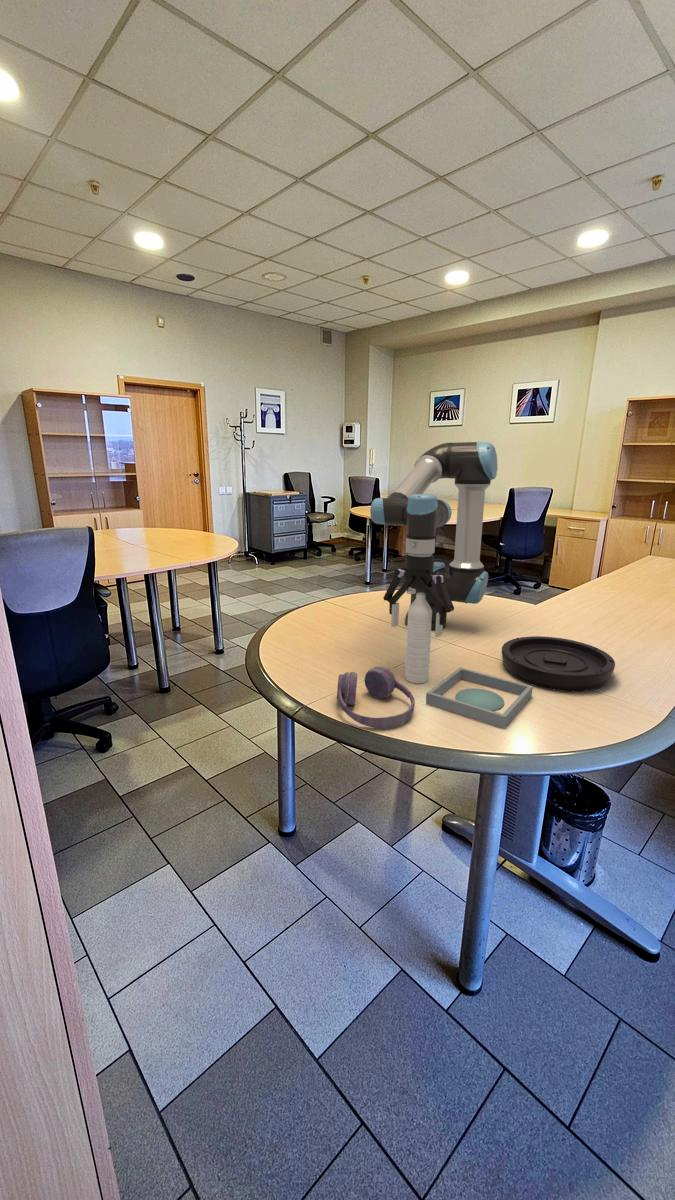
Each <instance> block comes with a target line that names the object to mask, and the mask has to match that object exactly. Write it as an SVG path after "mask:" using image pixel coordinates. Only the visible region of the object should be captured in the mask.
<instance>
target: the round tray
mask: <svg viewBox="0 0 675 1200" xmlns="http://www.w3.org/2000/svg"><path fill="white" fill-rule="evenodd" d="M501 656H502V663H503V664H504V667H505V669H506V670H507V672H509V673H510V674H511V675H512V676H513V677H515V678H517V679H518V680H520V681H522V682H524V683H527V684H528V685H532V684H533V685H532V686H535V685H536V687H539V688H544V689H547V688H548V690H552V689H555V690H554V691H559V690H564V691H563V692H572V691H578V692H585V691H584V690H589V691H592V690H591V689H594V690H597V689H600V688H601V687H603V686H604V685H606V684H607V683H608V682H609V680H610V679H611V678H612V676H613V673H614V671H615V668H616V667H615V666H616V661H615V660H614V658H613V657H612V656H611V655H610V654H608V652H605V651H604V650H602V649H600V648H598V647H596V646H593V645H591V644H589V643H588V644H587V643H585V642H581V641H577V640H572V639H568V638H562V637H555V636H543V635H542V636H535V635H534V636H532V635H531V636H522V637H517V638H513V639H509V640H508V641H506V642H505V643H503V645H502V646H501ZM599 687H600V688H599ZM596 688H597V689H596Z"/></svg>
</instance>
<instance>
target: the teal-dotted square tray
mask: <svg viewBox="0 0 675 1200" xmlns="http://www.w3.org/2000/svg"><path fill="white" fill-rule="evenodd" d="M461 680H463V681H466V682H470V683H474V684H478V685H481V686H484V687H488V688H491V689H495V690H498V691H503V692H505V693H510V694H513V695H516V694H517V698H516V699H515V700H514V701H513V702H512V703H511V704H510V705H509V706H508V707H507V709H506V710H505V711H504V712H503V713H501V712H496V711H491V710H488V709H484V708H481V707H478V706H474V705H471V704H468V703H465V702H461V701H458V700H456V698H455V699H454V698H451V697H448V696H445V695H444V694H445V693H446V692H447V691H449V690H450V689H452V688H453V686H455V685H456V684H457V683H458V682H460V681H461ZM533 686H534V685H530V684H526V683H525V684H524V683H522V682H518V681H513V680H510V679H507V678H502V677H498V676H495V675H490V674H486V673H483V672H479V671H476V670H471V669H468V668H463V667H459V668H457V669H456V670H454V671H453V672H452V673H451V674H449V676H448V675H447V676H446V677H445V679H443V680H442V681H440V682H439V683H438V684H436V685H435V686H434V687H432V688H431V689H430V690H428V691H427V692H426V693H425V694H426V697H425V704H426V705H429V706H431V707H435V708H438V709H441V710H444V711H448V712H451V713H453V714H456V715H460V716H463V717H466V718H469V719H472V720H476V721H479V722H481V723H485V724H488V725H491V726H494V727H497V728H499V729H506V727H507V726H508V725H509V724H510V723H511V721H513V719H514V718H515V717H516V716H517V714H519V712H520V711H521V710H522V709H523V707H525V705H526V704H527V703H528V702H529V701H530V699H532V696H533Z"/></svg>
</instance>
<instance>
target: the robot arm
mask: <svg viewBox="0 0 675 1200" xmlns="http://www.w3.org/2000/svg"><path fill="white" fill-rule="evenodd" d="M413 465H414V466H413V468H412V469H411V471H410V472H409V473H408V474H407V475H406V476H405V477H404V478H403V479H402V480H401V482H400V483H398V485H397V486H396V487H395V488H394V489H393V490H392V491H391V493H390V494H388V496H387V497H377V498H375V499H373V500H372V502H371V505H370V510H369V511H370V513H369V515H370V519H371V521H372V522H373V523H374V524H378V525H384V526H400V527H401V526H403V527H405V526H406V535H405V537H406V539H405V553H406V554H405V559H404V568H405V570H403V568H398V569H395V570H394V571H393V572H394V573H393V578H392V580H391V581H390V584H389V586H388V588H387V590H386V591H385V593H384V596H383V597H382V598H383V600H384V601H386V602H388V603H389V606H388V607H389V611H388V612H389V615H391V623H390V624H391V625H390V627H391V628H395V627H397V626H399V622H400V621H399V618H400V617H399V616H400V602H398V600H400V598H402V596H403V595H404V594H405V593H407V589H415V590H416V593H415V594H410V603H409V607H410V605H411V604H412V603H413V602H414V600H415V599H416V597H415V596H416V594H417V593H425V596H426V597H425V599H426V601H427V602H428V604H429V606H430V607H431V609H432V619H431V620H432V622H431V631H434V633H435V634H434V638H440V636H442V635H443V630H444V628H445V627H446V626H447V614H448V613H451V612H454V610H455V606H454V604H453V602H457V603H464V604H470V605H471V604H472V605H473V604H474V605H478V604H479V603H480V602H481V601H482V600H483V597H484V595H485V593H486V590H487V586H488V581H489V573H488V572H487V571H485V570H484V566H485V565H484V564H483V562H481V548H482V547H481V546H482V534H483V524H484V523H483V522H484V512H485V510H484V509H485V500H486V499H485V497H486V496H485V495H486V489H488V488H489V487H490V486H491V483H492V480H495V479H496V477H497V475H498V473H497V472H498V456H497V451H496V447H495V446H494V444H492V443H491V442H485V441H468V442H467V441H466V442H463V441H462V442H444V443H440V444H438V445H435V446H434V447H431V448H430V449H428V450H426V451H425V452H424V453H423V454H421V455H420V456H419V457H418V458H417V459H416V461H415V462H414V464H413ZM439 479H441V480H442V479H454V485H455V487H456V488H458V493H457V495H458V496H457V513H456V524H455V525H456V529H455V542H454V554H453V555H454V557H453V560H452V561H451V562H449V565H448V567H446V564H445V562H441V561H435V556H434V555H433V554H434V553H435V548H436V529H437V528H440V527H441V528H442V527H443V526H445V525H446V524H447V523H448V522H449V521H450V520H451V518H452V513H453V512H452V508H451V506H450V504H449V503H448V502H447V501H445V500H443V499H439V498H438V497H437V495H435V494H430V493H429V494H428V493H425V492H426V491H427V489H429V487H430V486H431V485H432V483H433V484H434V483H436V482H437V481H438V480H439ZM403 578H404V579H405V582H404V583H403V584H402V585H401V586H400V587H399V588H398V586H399V584H400V582H401V581H402V579H403ZM397 588H398V590H397ZM396 590H397V591H396ZM409 607H408V608H409ZM404 624H405V626H406V627H407V625H408V611H407V612H406V615H405V618H404Z"/></svg>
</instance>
